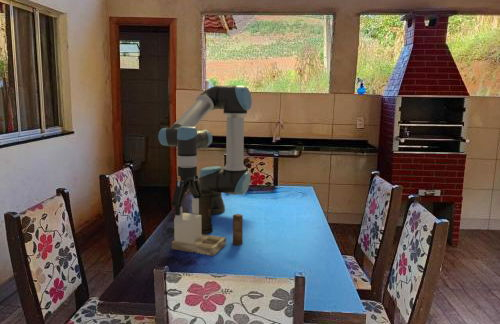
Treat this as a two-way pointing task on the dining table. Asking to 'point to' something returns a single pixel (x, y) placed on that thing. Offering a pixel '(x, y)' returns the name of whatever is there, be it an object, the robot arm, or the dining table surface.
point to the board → (201, 245)
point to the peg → (237, 229)
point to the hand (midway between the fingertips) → (187, 218)
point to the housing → (188, 228)
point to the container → (205, 211)
